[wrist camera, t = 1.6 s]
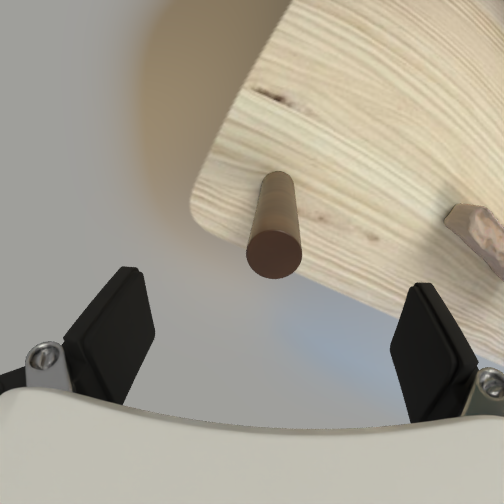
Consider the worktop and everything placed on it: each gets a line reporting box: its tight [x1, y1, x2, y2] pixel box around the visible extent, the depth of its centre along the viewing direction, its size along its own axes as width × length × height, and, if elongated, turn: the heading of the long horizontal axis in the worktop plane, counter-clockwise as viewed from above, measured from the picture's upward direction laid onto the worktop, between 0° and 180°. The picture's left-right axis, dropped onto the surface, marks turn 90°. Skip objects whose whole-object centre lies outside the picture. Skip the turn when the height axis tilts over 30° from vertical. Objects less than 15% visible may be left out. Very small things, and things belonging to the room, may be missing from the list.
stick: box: [246, 171, 302, 279], centre depth 18 cm, size 2×2×11 cm
